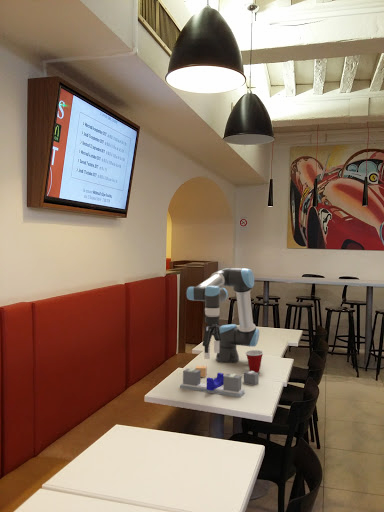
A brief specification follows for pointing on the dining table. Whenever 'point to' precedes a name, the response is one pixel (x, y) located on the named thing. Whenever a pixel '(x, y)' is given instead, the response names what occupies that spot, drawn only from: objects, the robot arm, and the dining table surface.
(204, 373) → the terminal block
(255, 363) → the plastic cup
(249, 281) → the robot arm
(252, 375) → the block
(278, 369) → the dining table surface
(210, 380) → the cable clip
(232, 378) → the rail fixture
